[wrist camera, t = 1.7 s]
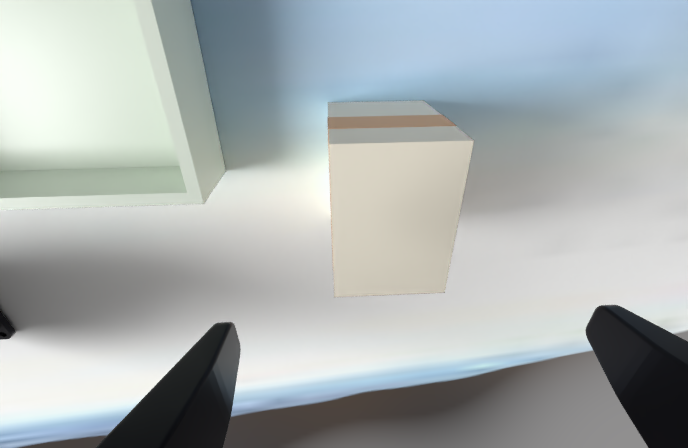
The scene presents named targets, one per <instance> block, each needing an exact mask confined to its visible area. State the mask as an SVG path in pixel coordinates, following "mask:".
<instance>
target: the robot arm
mask: <svg viewBox="0 0 688 448" xmlns="http://www.w3.org/2000/svg"><path fill="white" fill-rule="evenodd" d="M14 334H15V330H14V328H13V327H12V326H11V324H10V323H9V322H8V320H7V319H6V318H5V316H4V315H3V314H2V313H1V311H0V339H9V338H11V337H12V336H13V335H14ZM586 336H587V338H588V341H589V343H590V344H591V346H592V348H593V350H594V352H595V354H596V356H597V358H598V360H599V362H600V364H601V366H602V368H603V370H604V372H605V374H606V376H607V378H608V380H609V382H610V384H611V386H612V388H613V390H614V391H615V394H616V395H617V397H618V399H619V400H620V402H621V404H622V406H623V407H624V409H625V410H626V412H627V414H628V415H629V417H630V419H631V420H632V422H633V424H634V425H635V427H636V428H637V430H638V431H639V433H640V435H641V436H642V438H643V440H644V441H645V443H646V444H647V446H648V448H688V342H687V341H686V340H684V339H682V338H680V337H678V336H676V335H674V334H672V333H670V332H668V331H666V330H665V329H663V328H661V327H659V326H657V325H655V324H653V323H651V322H649V321H647V320H645V319H643V318H642V317H640V316H638V315H636V314H634V313H632V312H630V311H628V310H626V309H624V308H622V307H620V306H618V305H601V306H599V307H597V308H596V309H595V311H594V313H593V315H592V317H591V319H590V321H589V323H588V325H587V327H586ZM239 358H240V342H239V339H238V335H237V331H236V328H235V325H234V324H233V323H232V322H221V323H216V324H214V325H213V326H212V327H211V328H210V329H209V330H208V331H207V332H206V333H205V335H204V336H203V337H202V338H201V339H200V340H199V341H198V342H197V343H196V344H195V345H194V346H193V347H192V348H191V349H190V350H189V351H188V352H187V353H186V354H185V355H184V356H183V357H182V358H181V360H180V361H179V362H178V363H177V364H176V365H175V366H174V367H173V368H172V369H171V370H170V371H169V372H168V373H167V374H166V375H165V376H164V377H163V378H162V379H161V380H160V381H159V382H158V383H157V384H156V386H155V387H154V388H153V389H152V390H151V391H150V392H149V393H148V394H147V395H146V396H145V397H144V398H143V399H142V400H141V401H140V402H139V403H138V404H137V405H136V406H135V407H134V408H133V409H132V410H131V412H130V413H129V414H128V415H127V416H126V417H125V418H124V419H123V420H122V421H121V422H120V423H119V424H118V425H117V426H116V427H115V428H114V429H113V430H112V431H111V432H110V433H109V434H108V435H107V437H106V438H105V439H104V440H103V441H102V442H101V443H100V444H99V445H98V446H97V447H96V448H223V445H224V441H225V437H226V434H227V430H228V426H229V421H230V417H231V411H232V405H233V398H234V392H235V385H236V378H237V372H238V365H239Z"/></svg>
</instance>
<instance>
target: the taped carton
mask: <svg viewBox="0 0 688 448" xmlns="http://www.w3.org/2000/svg"><path fill="white" fill-rule="evenodd" d="M473 144H474V140H473V139H472V138H470V137H469V136H468V135H467V134H465V133H464V132H463V131H461V130H460V129H459V128H458V127H456V125H455V124H454V123H453V122H451V121H450V120H449V119H447V118H446V117H445V116H444V115H441V114H440V113H439V112H437V111H436V110H435V109H434V108H432V107H431V106H430V105H429V104H427V103H426V102H425V101H424V100H419V101H372V102H328V146H329V173H330V201H331V229H332V257H333V277H334V297H354V296H378V295H402V294H426V293H445V288H446V283H447V278H448V272H449V267H450V262H451V257H452V252H453V247H454V241H455V236H456V231H457V226H458V221H459V216H460V211H461V205H462V200H463V195H464V190H465V185H466V180H467V175H468V169H469V164H470V159H471V154H472V149H473Z"/></svg>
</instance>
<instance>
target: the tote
mask: <svg viewBox="0 0 688 448" xmlns="http://www.w3.org/2000/svg"><path fill="white" fill-rule="evenodd" d="M225 172H226V169H225V164H224V160H223V155H222V150H221V145H220V140H219V136H218V131H217V126H216V121H215V116H214V111H213V107H212V102H211V97H210V92H209V87H208V83H207V78H206V73H205V68H204V63H203V58H202V54H201V49H200V44H199V39H198V34H197V30H196V25H195V20H194V15H193V10H192V5H191V1H190V0H0V210H25V209H57V208H90V207H122V206H154V205H187V204H204V203H205V201H206V200H207V198H208V197H209V195H210V194H211V192H212V191H213V189H214V188H215V187H216V185H217V184H218V182H219V181H220V179H221V178H222V176H223V175H224V173H225Z"/></svg>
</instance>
